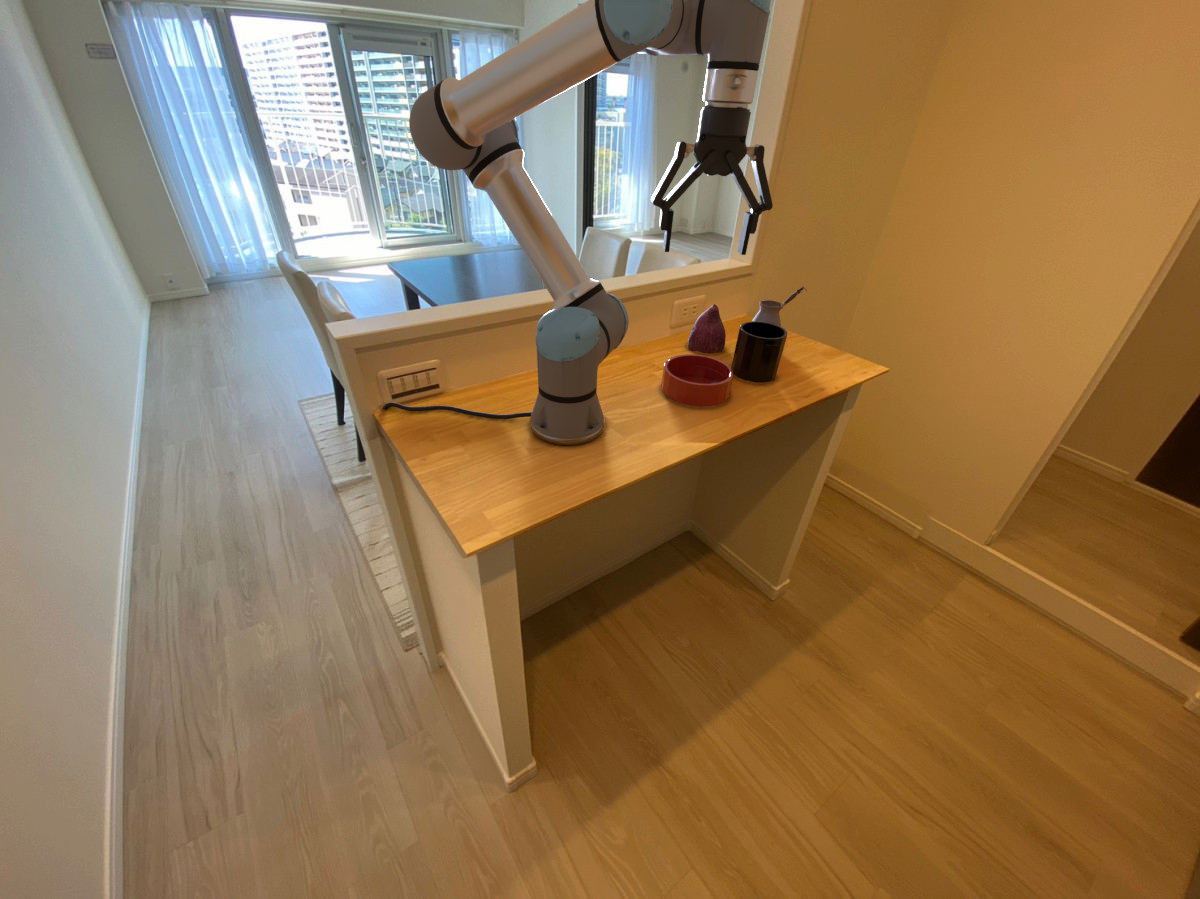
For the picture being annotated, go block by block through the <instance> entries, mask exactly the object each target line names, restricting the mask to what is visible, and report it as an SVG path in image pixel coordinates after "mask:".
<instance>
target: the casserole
mask: <svg viewBox="0 0 1200 899" xmlns="http://www.w3.org/2000/svg"><path fill="white" fill-rule="evenodd" d="M733 380H734V372H733V370H732V368H731V366H730V365H729V364H727V363H726V362H724V361H722V360H720V359H718V358H715V357H712V356H708V355H704V354H703V355H702V354H691V353H690V354H689V353H688V354H687V353H686V354H678V355H675V356H672V357H670V358H668V359H666V360H665V361H664V364H663V368H662V375H661V385H660V387H661V391H662V393H663V394H664V395H665V396H666V397H668V399H671V400H672V401H674V402H677V403H680V404H681V405H686V406H690V407H700V408H704V407H705V408H709V407H714V406H715V407H716V406H718V405H721V404H723V403H725V402H726V401H727V400H728V399H729V397H730V392H731V388H732V383H733Z"/></svg>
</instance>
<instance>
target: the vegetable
mask: <svg viewBox="0 0 1200 899" xmlns="http://www.w3.org/2000/svg"><path fill="white" fill-rule="evenodd" d="M724 325H725V324H724V323H723V321H722V318H721V314H720V309H719V307H718V305H717V304H715V303H713V304H712V305H711V306H709V307H708V308H706V310H705V311H704V312H702V313H701V314H700V315H699V316H698V318H696V321H695V322H694V324H693V326H692V328H691V330H690V333H689V336H688V340H687V345H686V346H687V347H686V348H687V349H688V350H689V351H691V352H699V353H702V354H716V353H722V352H723V351H724V349H725V346H726V329H725V326H724Z"/></svg>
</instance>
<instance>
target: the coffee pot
mask: <svg viewBox="0 0 1200 899" xmlns="http://www.w3.org/2000/svg"><path fill="white" fill-rule="evenodd" d="M803 290H805V292H803ZM807 292H808V291H807V289H806V287H804V286H801V287H799V288H798V289H796V291H794V292H793V293H792V294H790V296H788V297H787V298H786V299H785V300H784V301H783V303H782V302H780V301H777V300H774V299H762V300H760V301H758V305H759V310H758V312H757V313H756V314H755V316H754V317H753V318H752V320H751V321H750V322H752V321H758V322H767V323H772V324H775V325H778V326H780V327H782V323H781V317H780V311H781V310H782V309H784V307H785V306H786V305H788V304H789V303H790V302H791V301H793V300H794V299H796V297H797V296H798V295H799V294H800V293H802V294H806V293H807Z"/></svg>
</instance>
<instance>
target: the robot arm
mask: <svg viewBox="0 0 1200 899" xmlns="http://www.w3.org/2000/svg"><path fill="white" fill-rule="evenodd" d="M771 3H772V0H587V1H584V2H582V3H581V4H580V5H578V6H577V7H575V8H573V9H572V10H570V11H568V12H567V13H566V14H564V15H562V16H561V17H559V18H558V19H556V20H554V21H553V22H551V23H549V24H548V25H546V26H545V27H542V28H541V29H539V30H538V31H536V32H535V33H533V34H532V35H530V36H529V37H526V38H525V39H524V40H522V41H520V42H518V43H517V44H515V45H514V46H512V47H511V48H509V49H507V50H506V51H504V52H503V53H501V54H499V55H498V56H496V57H494V58H493V59H490V61H487V62H486V63H485V64H483V65H482V66H480V67H478V68H476V69H475V70H474V71H472V72H470V73H469V74H467V75H465V76H464V77H462V78H461V79H458V78H456V77H453V76H452V77H451V76H448V77H446V78H444V79H443V80H441V81H440V82H438V83H437V84H435V85H433V86H432V87H430V88H428V89H427V90H425V91H424V92H422V94H420V95H419V96H418V97H417V98H416V100H414V103H413V105H412V107H411V109H410V114H409V119H408V122H409V124H408V125H409V132H410V137H411V140H412V142H413V144H414V146H415V148H416V149H417V151H418V153H419V154H420V155H421V156H422V158H424V159H425V160H426V161H427V162H428V163H429V164H430V165H432V166H434V167H437V168H439V169H441V170H446V171H460V170H462V171H463V172H464V173H465V176H466V177H467V179H468V180H469V181H470V184H471V185H472V186H473V188H474V189H476V190H480V191H484V192H485V193H486V194H487V195H488V197H489V199H490V200H491V202H492V204H493V205H494V207H495V208H496V210H497V211H498V213H499V215H500V216H501V218H502V220H503V221H504V222H505V224H506V226H507V228H508V229H509V231H510V232H511V234H512V235H513V237H514V239H515V240H516V242H517V243H518V245H519V247H520V249H521V251H522V252H523V254H524V255H525V257H526V258H527V259H528V261H529V263H530V264H531V266H532V268H533V269H534V271H535V272H536V274H537V275H538V277H539V279H540V280H541V282H542V284H543V285H544V287H545V288H546V290H547V292H548V293H549V295H550V296H551V298H552V300H553V307H552V308H553V309H552V310H549V311H547V312H546V313H545V314H543V315H542V316H541V318H539V320H538V322H537V325H536V335H535V346H536V363H537V364H536V366H537V384H538V386H537V388H538V391H537V392H538V393H537V395H536V399H535V402H534V405H533V408H532V411H528V412H527V411H526V412H516V413H509V414H499V413H497V414H495V413H488V412H481V411H474V410H469V409H465V408H460V407H457V406H451V405H424V406H408V405H404V404H401V403H398V402H395V401H393V402H388V403H386V404H384V405H383V406H382V409H383V410H388V409H390V408H398V409H400V410H403V411H407V412H425V411H451V412H455V413H459V414H464V415H467V416H474V417H479V418H486V419H495V420H511V419H518V418H528V417H529V418H530V428H531V431H532V433H533V434H534V435H535V436H536V437H537V438H538V439H540V440H542V441H543V442H546V443H549V444H553V445H558V446H578V445H583V444H587V443H589V442H592V441H594V440H595V439H597V438H598V437H599V436H600V435H601V434H602V433H603V432H604V431H603V430H604V428H605V417H604V413H603V409H602V406H601V403H600V400H599V396H598V392H597V391H598V390H597V388H598V370H599V366H600V364H601V363H602V362H603V361H605V359H606V358H607V357H608V356H609V355H610V354H611V353H612V352H613V351H614V350H616V349H617V348H618V347H619V346H620V345H621V343H622V342H623V340H624V338H625V337H626V336H627V332H628V329H629V322H630V321H629V314H628V310H627V308H626V306H625V304H624V302H623V301H622V300H621V299H620V298H619V297H617V295H615V294H611V293H609V292H607V291H606V289H605V287H604V285H603V284H602V282H601V281H600V280H598V279H593V278H591V277H589V275H588V274H587V271H586V269H585V268H584V266H583V265H582V263H581V262H580V260H579V258H578V256H577V255H576V253H575V251H574V250H573V248H572V246H571V244H570V243H569V242H568V239H567V238H566V236H565V235H564V233H563V231H562V230H561V227H560V226H559V224H558V223H557V221H556V219H555V218H554V216H553V214H552V213H551V211H550V209H549V207H548V206H547V204H546V202H545V201H544V199H543V197H542V196H541V194H540V193H539V191H538V189H537V187H536V185H535V184H534V182H533V181H532V179H531V177H530V176H529V174H528V172H527V170H526V169H525V167H524V158H525V151H524V150H523V148H522V145H521V144H520V137H519V134H520V128H519V124H518V121H517V119H516V118H518V117H520V116H522V115H524V114H525V113H528V112H529V111H531V110H533V109H535V108H537V107H539V106H541V105H542V104H544V103H546V102H547V101H549V100H551V99H553V98H556V97H557V96H558V95H560V94H562V93H564V92H566V91H568V90H570V89H572V88H573V87H575V86H578V85H580V84H581V83H583V82H585V81H587V80H588V79H590V78H592V77H594V76H596V75H598V74H599V73H602V72H603V71H605V70H607V69H609V68H611V67H613V66H614V65H616V64H619V63H620V62H622V61H624V60H626V59H628V58H630V57H633V56H634V55H636V54H641V55H642V54H643V55H648V56H649V55H650V56H654V57H657V56H661V55H663V56H686V55H687V56H696V55H698V56H707V65H706V73H705V80H704V86H703V87H704V88H703V94H702V101H703V102H704V103H705V106H702V109H700V117H699V124H698V132H697V138H696V141H695V143H689V142H685V141H683V140H678V141H677V142H676V144H675V150H674V155H673V157H672V159H671V161H670V163H669V164H668V166H667V168H666V171H665V172H664V174H663V176H662V177H661V180H660V181H659V183H658V185H657V187H656V189H655V191H654V192H653V194H652V196H651V198H650V201H651V203H652V205H653V206H656V207H658V208H660V215H659V225H658V227H659V229H660V231H664V233H663V241H662V242H663V243H662V250H663V252H664V253H670V249H671V248H670V247H671V240H672V231H673V224H674V223H673V222H674V213H675V211H674V210H673V208H672V207H673V206H674V204H676V202H677V201H678V200H679V199H680V198H681V196H683V195H684V194H685V193H686V191H687V190H688V189H689V188H690V187H691V186H692V185H693V183H694V182H695V181H696V180H697V179H698V178H700V177H701V176H702V175H703V174H704V175H706V176H709V177H710V176H711V177H712V176H717V175H718V176H721V177H728V176H729V175H730V176H731V177H732V179H733V180H734V182H735V184H736V186H737V188H738V190H739V192H740V193H741V195H742V197H743V199H744V200H745V203H746V204H747V206H748V208H749V211H744V216H743V219H742V220H743V221H742V225H741V230H740V234H739V235H740V236H739V241H738V245H737V246H738V247H737V252H738V253H739V254H740V255H741V256H746V254H747V251H748V245H749V240H750V236H751V235H754V234H756V231H757V228H758V222H759V219H760V215H762V214H763V213H764V212H766V211H770V210H772V209H773V206H774V204H773V200H772V195H771V190H770V186H769V182H768V176H767V172H766V167H765V163H764V161H765V160H764V159H765V146H764V145H762V144H758V143H756V144H754V145H750V146H749V145H748V146H747V142H746V141H747V135H748V130H749V125H750V119H751V113H752V111H751V109H749V105H751V104H752V103H754V98H755V90H756V84H757V80H758V74H759V71H760V70H759V69H760V63H761V59H762V53H763V48H764V44H765V38H766V32H767V27H768V22H769V17H770V13H771V10H770V8H771ZM691 153H693V156H694V157H695V161H696V162H695V163H694V164H693V165H692V167H690V169H689V171H688V172H687V173H686V174H685V176H683V177H682V179H680V181H679V182H678V183H676V185H675V186H674V187H673V189H672V190H671V191H670V192H669V193H668V194H667V195H666V193H667V191H668V189H669V187H670V185H671V184H672V182H673V180H674V179H675V177H676V175H677V174H678V171H679V169H681V168H680V167H681V165H682V164H683V163H684V160H685V159H688V157H689V156H690V154H691ZM746 156H747V159H748V161H749V162H751V166H752V171H753V175H754V179H755V180H754V181H755V183H756V188H757V192H758V197H759V201H760V202H758V200H757V198H756V196H755V194H754V192H753V190H752V187H751V186H750V184H749V182H748V180H747V178H746V177H745V175H744V172H743V170H742V168H741V166H740V163H741V162H742V160H743V159H744V158H745V157H746ZM665 195H666V197H665V198H664V196H665ZM663 198H664V199H663Z"/></svg>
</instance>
